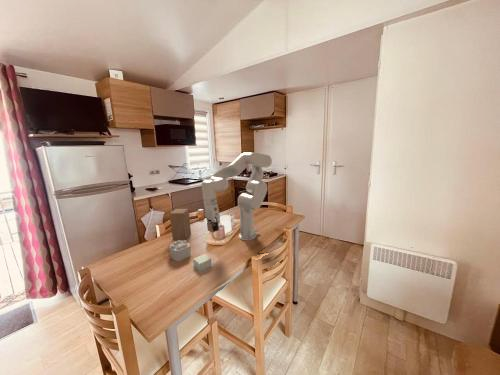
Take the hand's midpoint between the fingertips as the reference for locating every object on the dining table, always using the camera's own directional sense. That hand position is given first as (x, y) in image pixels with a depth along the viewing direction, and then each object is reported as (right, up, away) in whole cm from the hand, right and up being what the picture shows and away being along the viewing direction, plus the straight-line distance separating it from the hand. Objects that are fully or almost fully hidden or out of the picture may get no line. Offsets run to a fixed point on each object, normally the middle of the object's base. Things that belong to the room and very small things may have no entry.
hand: (213, 229), depth 123 cm
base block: (-4, -17, -13) cm, 22 cm away
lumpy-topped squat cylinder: (-20, -16, -1) cm, 26 cm away
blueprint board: (-3, -17, -10) cm, 20 cm away
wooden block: (-27, -11, +25) cm, 38 cm away
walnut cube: (0, -1, 0) cm, 1 cm away
